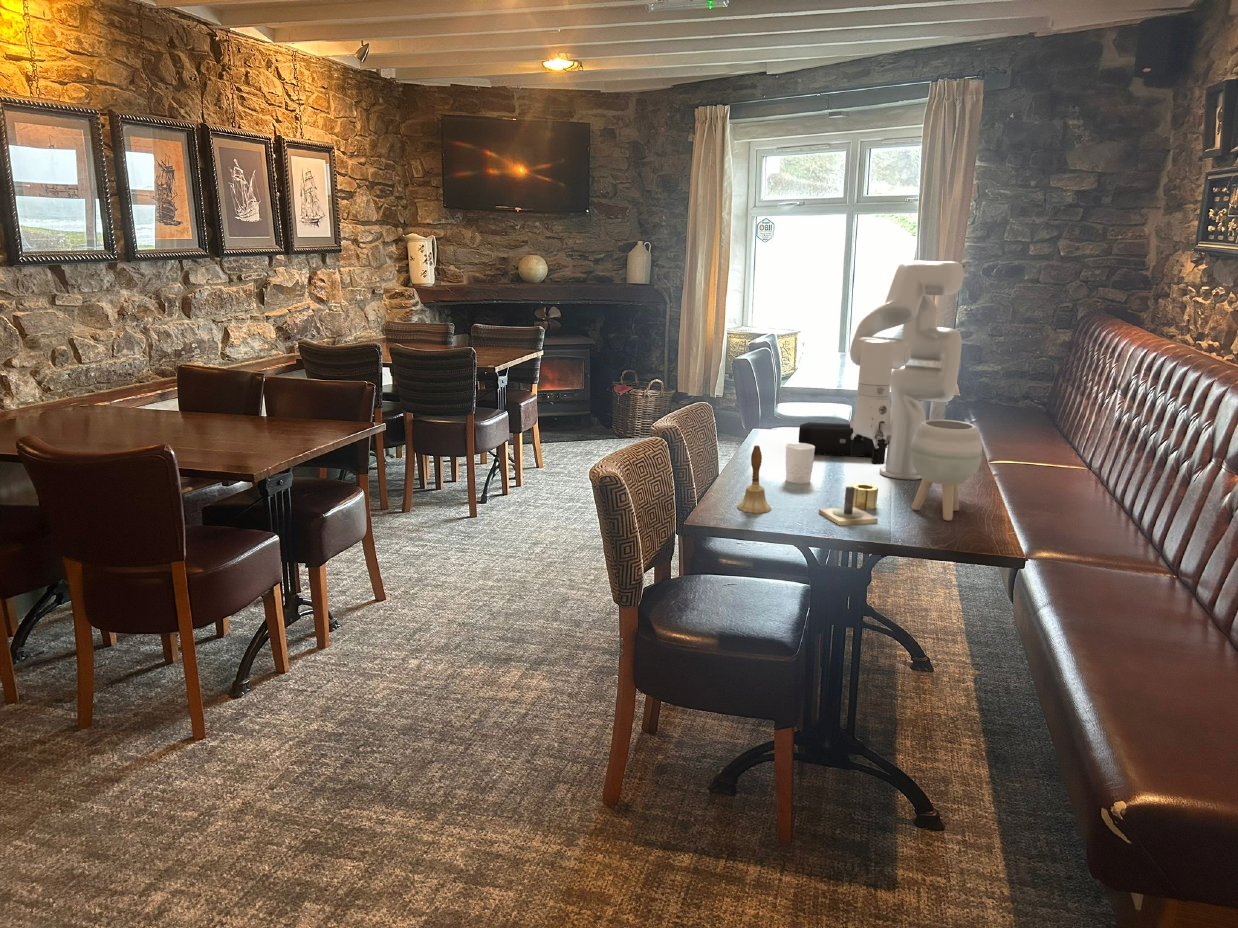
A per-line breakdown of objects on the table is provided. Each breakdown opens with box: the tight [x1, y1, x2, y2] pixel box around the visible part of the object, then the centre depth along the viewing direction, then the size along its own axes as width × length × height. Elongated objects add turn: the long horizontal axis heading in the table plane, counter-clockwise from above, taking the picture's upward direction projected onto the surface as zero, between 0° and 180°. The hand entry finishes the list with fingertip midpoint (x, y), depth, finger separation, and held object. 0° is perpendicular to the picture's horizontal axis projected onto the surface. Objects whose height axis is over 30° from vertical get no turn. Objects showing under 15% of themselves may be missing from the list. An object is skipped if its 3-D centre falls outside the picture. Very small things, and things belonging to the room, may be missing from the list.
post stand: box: [818, 486, 879, 526], centre depth 204 cm, size 10×10×8 cm
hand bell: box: [736, 445, 772, 514], centre depth 209 cm, size 8×8×16 cm
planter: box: [910, 419, 983, 522], centre depth 207 cm, size 16×16×22 cm
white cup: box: [785, 442, 815, 485], centre depth 236 cm, size 8×8×10 cm
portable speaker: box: [798, 421, 880, 458], centre depth 269 cm, size 26×10×10 cm, turn 82°
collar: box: [851, 483, 879, 511], centre depth 214 cm, size 6×6×5 cm
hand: (866, 459), depth 211 cm, fingers open, 9 cm apart
